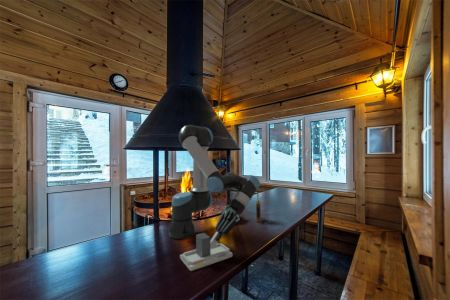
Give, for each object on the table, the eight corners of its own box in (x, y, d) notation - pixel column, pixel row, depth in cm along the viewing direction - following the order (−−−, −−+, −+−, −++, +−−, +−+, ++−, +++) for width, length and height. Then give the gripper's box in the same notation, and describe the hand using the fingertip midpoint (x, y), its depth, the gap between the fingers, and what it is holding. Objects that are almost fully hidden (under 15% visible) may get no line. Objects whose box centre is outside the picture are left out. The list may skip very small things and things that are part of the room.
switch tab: (204, 250, 90) (204, 232, 90) (210, 255, 85) (210, 237, 85) (196, 252, 88) (196, 234, 88) (202, 258, 83) (201, 239, 83)
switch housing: (218, 246, 98) (218, 241, 98) (232, 256, 88) (232, 250, 88) (180, 258, 87) (180, 252, 87) (190, 271, 77) (190, 264, 77)
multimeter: (271, 225, 127) (270, 194, 128) (256, 224, 129) (255, 193, 130) (271, 218, 141) (270, 190, 142) (257, 217, 143) (256, 190, 144)
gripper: (252, 210, 93) (223, 256, 84) (235, 205, 104) (209, 245, 94) (243, 200, 90) (212, 247, 81) (227, 196, 101) (198, 237, 92)
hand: (210, 246), depth 88 cm, fingers closed
